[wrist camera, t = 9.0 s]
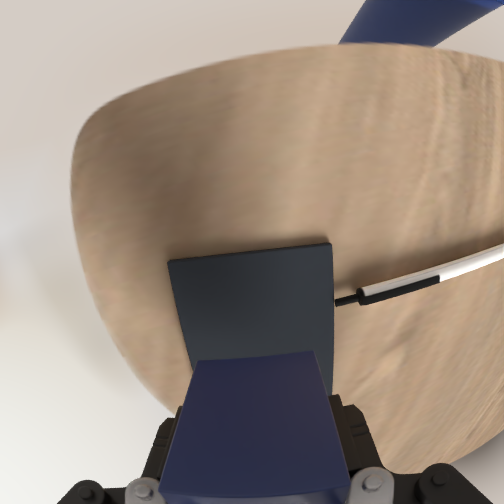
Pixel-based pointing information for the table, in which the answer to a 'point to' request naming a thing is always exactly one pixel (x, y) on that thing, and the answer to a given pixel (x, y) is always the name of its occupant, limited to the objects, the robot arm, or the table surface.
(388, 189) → the table surface
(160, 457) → the robot arm
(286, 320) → the mat
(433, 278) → the pen
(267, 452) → the block
